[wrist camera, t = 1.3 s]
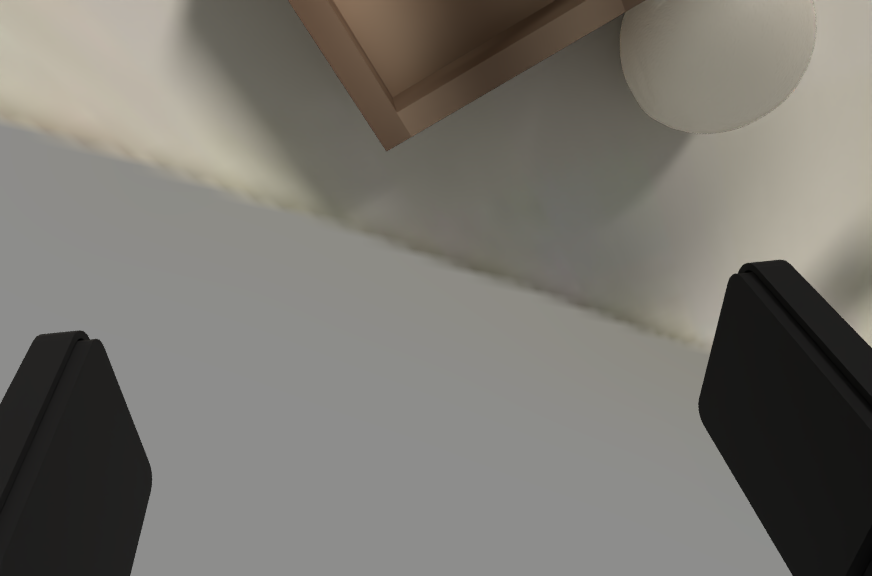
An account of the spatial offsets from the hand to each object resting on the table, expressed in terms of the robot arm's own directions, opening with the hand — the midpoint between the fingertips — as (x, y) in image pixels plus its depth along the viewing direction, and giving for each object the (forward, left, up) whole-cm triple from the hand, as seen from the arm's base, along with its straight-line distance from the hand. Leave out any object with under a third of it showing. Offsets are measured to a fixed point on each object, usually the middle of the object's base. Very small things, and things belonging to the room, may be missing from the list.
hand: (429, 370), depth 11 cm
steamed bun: (-11, +6, -21) cm, 25 cm away
